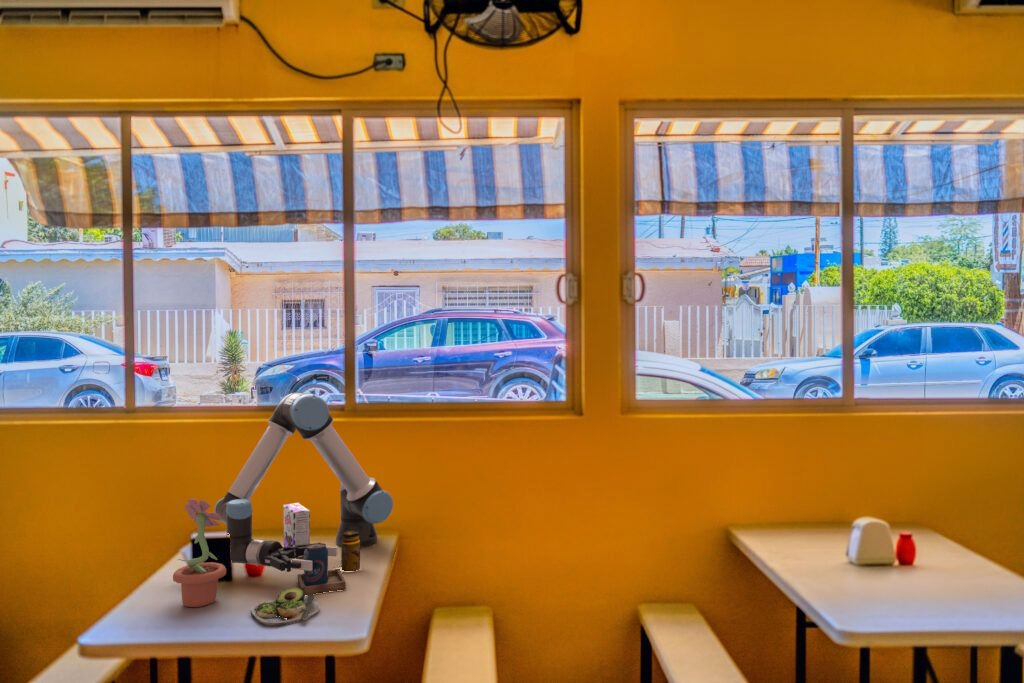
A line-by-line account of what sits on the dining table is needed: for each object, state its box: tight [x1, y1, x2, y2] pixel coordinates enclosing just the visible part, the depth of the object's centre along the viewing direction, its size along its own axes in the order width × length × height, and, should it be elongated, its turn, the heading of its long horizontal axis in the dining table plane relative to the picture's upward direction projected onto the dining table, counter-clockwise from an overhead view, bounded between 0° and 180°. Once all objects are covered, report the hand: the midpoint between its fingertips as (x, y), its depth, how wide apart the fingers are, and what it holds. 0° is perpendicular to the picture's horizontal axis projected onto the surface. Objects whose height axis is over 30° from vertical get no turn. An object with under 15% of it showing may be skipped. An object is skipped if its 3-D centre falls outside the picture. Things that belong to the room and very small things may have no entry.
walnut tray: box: [297, 569, 347, 595], centre depth 200 cm, size 13×13×2 cm
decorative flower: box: [172, 498, 227, 608], centre depth 188 cm, size 15×14×30 cm
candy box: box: [282, 502, 311, 559], centre depth 233 cm, size 14×6×16 cm, turn 33°
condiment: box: [333, 531, 365, 572], centre depth 215 cm, size 7×8×12 cm
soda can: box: [303, 542, 329, 586], centre depth 198 cm, size 7×7×12 cm
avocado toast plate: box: [250, 587, 321, 627], centre depth 179 cm, size 19×18×5 cm
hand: (324, 558), depth 199 cm, fingers open, 13 cm apart
